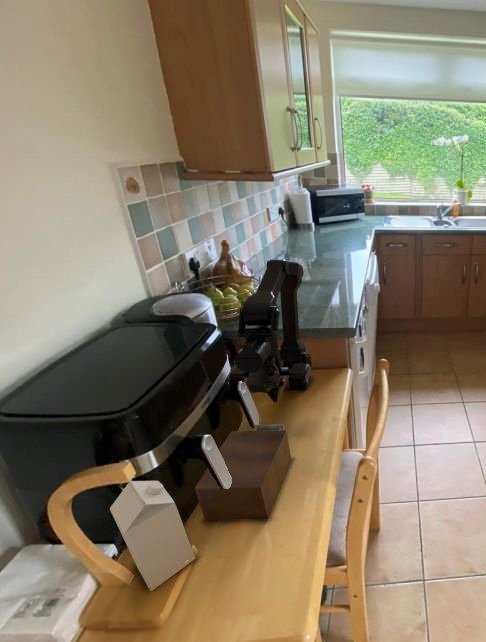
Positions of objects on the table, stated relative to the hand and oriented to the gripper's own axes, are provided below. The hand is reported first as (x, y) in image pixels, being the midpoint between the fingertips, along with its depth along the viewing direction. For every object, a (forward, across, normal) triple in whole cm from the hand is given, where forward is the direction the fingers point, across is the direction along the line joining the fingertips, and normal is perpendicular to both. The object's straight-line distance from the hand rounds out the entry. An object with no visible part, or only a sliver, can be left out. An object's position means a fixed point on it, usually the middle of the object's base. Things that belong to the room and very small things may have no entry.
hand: (275, 401), depth 97 cm
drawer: (+8, 0, -15) cm, 17 cm away
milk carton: (+9, -9, -35) cm, 37 cm away
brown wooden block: (+9, 0, -19) cm, 21 cm away
